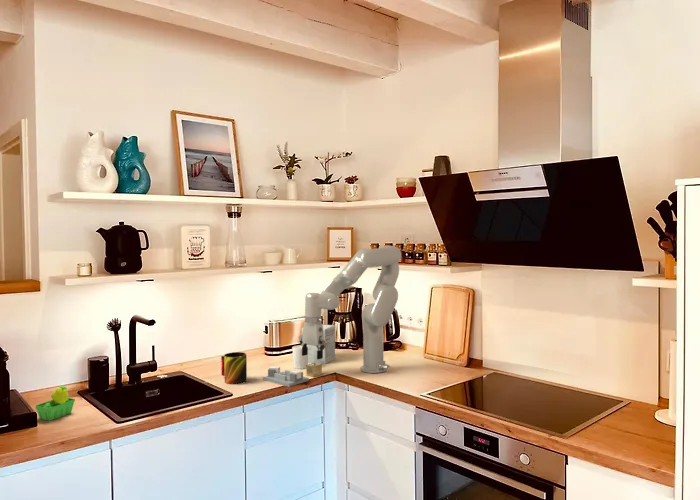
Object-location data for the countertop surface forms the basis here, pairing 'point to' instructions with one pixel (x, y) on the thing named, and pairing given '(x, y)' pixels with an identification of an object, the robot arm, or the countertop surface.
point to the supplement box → (328, 350)
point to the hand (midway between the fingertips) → (312, 357)
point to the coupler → (314, 369)
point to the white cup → (299, 357)
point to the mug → (234, 368)
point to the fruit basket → (56, 405)
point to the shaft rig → (285, 377)
